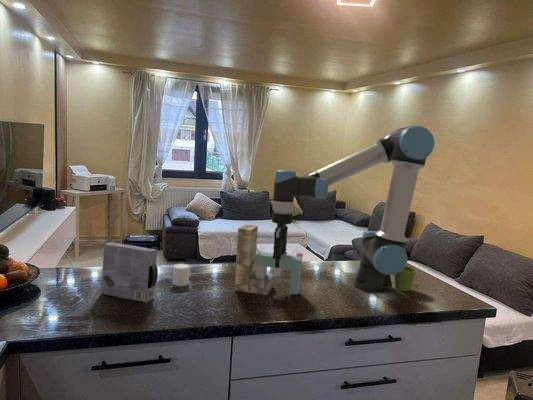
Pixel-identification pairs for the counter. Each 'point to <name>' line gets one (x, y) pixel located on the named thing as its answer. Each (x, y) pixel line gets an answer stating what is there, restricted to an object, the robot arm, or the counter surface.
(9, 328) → the counter surface
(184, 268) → the white cylinder
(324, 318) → the counter surface
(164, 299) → the counter surface
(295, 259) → the rail
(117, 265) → the cake pan box
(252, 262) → the post
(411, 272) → the plant pot
